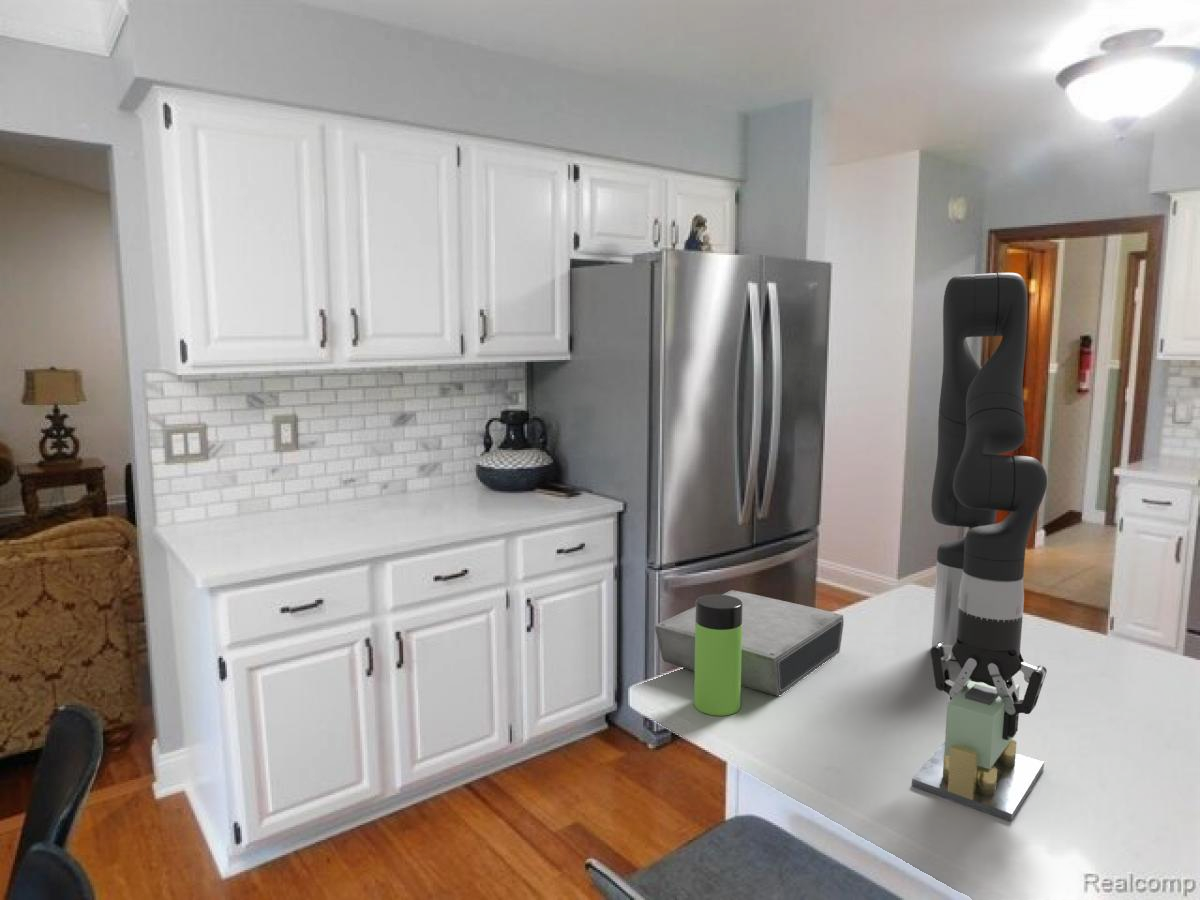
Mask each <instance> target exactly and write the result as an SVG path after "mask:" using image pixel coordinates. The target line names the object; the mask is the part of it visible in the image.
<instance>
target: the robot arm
mask: <svg viewBox="0 0 1200 900" xmlns="http://www.w3.org/2000/svg"><path fill="white" fill-rule="evenodd" d="M1025 281H1026V280H1024V278H1023V276H1021V275H1020V274H1019V273H1017V272H1016V273H1015V272H994V273H993V272H991V273H972V274H971V273H969V274H961V275H955V276H953V277H952V278H950V279H949V280H948V282H947V284H946V287H945V290H944V294H943V303H942V307H943V308H942V330H943V331H942V332H943V333H942V337H943V340H942V342H943V344H942V345H943V347H942V348H943V352H942V353H943V356H942V357H943V363H942V364H943V365H942V376H941V387H940V388H941V389H940V394H939V395H940V396H939V404H938V405H939V406H938V407H939V409H938V420H937V421H938V423H937V425H938V426H937V454H936V455H937V457H936V464H935V465H936V466H935V471H934V479H933V486H932V492H931V493H932V494H931V513H932V516H933V517H932V518H933V519H934V520H935V522H937V523H938V524H941V525H943V526H951V527H960V528H962V527H963V528H970V529H969V530H967V532H966V533H965V536H964V537H962V538H958V539H954V540H950V541H945V542H942V543H941V544H940V545H939V546H937V547H938V548H937V552H936V553H937V554H936V568H935V569H936V571H935V585H934V586H935V588H934V603H933V605H934V606H933V619H932V620H933V622H932V623H933V624H932V634H931V635H932V637H931V638H932V639H931V648H930V655H931V656H930V657H931V662H932V669H933V670H932V671H933V676H934V682H935V683H934V684H935V687H936V690H938V691H940V692H941V691H943V692H944V693H946V694H948V695H949V699H950V700H951V699H952V698H953V697H954V696H955V695H956V694H957V693H958V692H959V691H962V690H963V689H964V687H965V686H967V685H968V683H969V682H970V681H973V682H983V683H985V684H987V685H989V686H993V687H996V690H997V693H998V695H999V697H1000V698H1001V699H1002V702H1003V703H1005V705H1004V708H1005V711H1006V712H1005V713H1004V722H1003V736H1002V738H1003V739H1004V740H1009V739H1010V737H1013V736H1014V735H1015V734H1016V735H1017V732H1018V731H1019V730H1018V729H1019V718H1020V717H1019V715H1020V714H1025V715H1029V714H1030V713H1032V711H1033V710H1034V709H1035V707H1036V706H1037V702H1038V699H1039V697H1040V694H1041V691H1042V687H1043V685H1044V682H1045V678H1046V677H1047V671H1048V670H1047V668H1046V667H1045V666H1044V665H1038V666H1034V665H1032V664H1029V663H1027V662H1025V661H1024V659H1023V656H1022V654H1021V646H1022V645H1021V644H1022V642H1021V641H1022V630H1023V629H1022V628H1023V618H1024V617H1023V615H1024V602H1025V588H1024V574H1025V558H1026V548H1027V544H1028V543H1027V542H1028V538H1029V535H1030V532H1031V529H1032V526H1033V523H1034V521H1035V517H1036V515H1037V513H1038V512H1039V508H1040V506H1041V504H1042V501H1043V500H1044V496H1045V494H1046V491H1047V485H1048V477H1047V472H1046V469H1045V468H1044V467H1045V466H1044V465H1043V464H1042V463H1041V461H1039V460H1038V459H1037V458H1035V457H1032V456H1025V455H1008V453H1010V452H1013V451H1015V450H1017V449H1019V448H1020V447H1021V446H1022V445H1023V443H1024V442H1025V439H1026V434H1027V433H1026V431H1027V430H1026V429H1027V428H1026V418H1025V410H1024V409H1025V407H1024V405H1025V404H1024V395H1023V393H1024V392H1023V385H1024V384H1023V382H1024V381H1023V380H1024V378H1023V377H1024V368H1025V359H1026V358H1025V357H1026V345H1027V328H1028V327H1027V326H1028V309H1029V308H1028V302H1029V301H1028V290H1027V285H1026V282H1025ZM972 337H973V338H975V337H978V338H980V337H983V338H984V337H1001V341H1000V343H999V344H998V346H997V348H996V349H995V351H994V353H993V354H992V355H991V357H990V358H989V359H988V360H987V361H986V362H985V363H984V365H983V366H982V365H980V363H979V362H978V360H976V357H974V355H973V353H972V351H971V349H970V347H969V344H968V341H967V338H972ZM1006 454H1007V455H1006ZM997 511H1003V512H1004V511H1005V512H1009V514H1008V515H1007V516H1006V517H1005V518H1004V520H1002V521H1000V522H998V523H996V520H997V519H996V518H997ZM949 660H953V661H956V663H957V664H958V665H959V667H960V668H961V671H960V672H959V674H958V676H957V677H956V679H955V681H952V679H951V674H950V666H949ZM1018 672H1022V674H1023V678H1024V681H1025V682H1026V683H1027V687H1026V690H1025V693H1024V696H1023V699H1018V696H1017V693H1016V687H1015V684H1016V683H1015V681H1014V678H1013V677H1014V676H1015V675H1016V674H1018ZM950 700H949V701H950ZM1016 735H1015V736H1016ZM1015 736H1014V737H1015ZM1014 737H1013V738H1014Z"/></svg>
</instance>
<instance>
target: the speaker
mask: <svg viewBox="0 0 1200 900" xmlns="http://www.w3.org/2000/svg"><path fill="white" fill-rule="evenodd" d="M721 595H728V596H732V597H735V598H738V599H739V600H741V601H742V603H743V608H742V651H741V686H742V687H744V686H745V688H748V689H751V690H754V689H755V691H757V692H761V691H762V693H765V694H768V693H769V694H770V695H771V696H776V697H778V696H779V695H782V694H783V693H784V692H786V691H787V690H788V691H790V690H791V689H792V688H791V687H793V686H794V685H795V684H797V683H798V682H799V681H801V680H802V679H803V678H804V677H806V676H807V675H809V674H810V673H811V672H813V671H814V670H815V669H817V668H818V667H819V666H821V665H822V664H823V663H825V662H826V661H827V662H829V661H830V660H832V659H833V658H834V657H836V656H837V655H838V654H839V653H840V652H841V646H842V645H841V644H842V639H843V632H844V631H843V630H844V615H843V614H841V613H836V612H833V611H829V610H825V609H821V608H817V607H812V606H807V605H803V604H799V603H793V602H790V601H787V600H786V601H784V600H781V599H776V598H772V597H767V596H763V595H758V594H754V593H749V592H744V591H739V590H733V589H732V590H729V591H727V592H724V593H722V594H721ZM695 615H696V606H693V607H691V608H690V609H687V610H684V611H683V612H680V613H679V614H676V615H674V616H671V617H670V618H667V619H665V620H663V621H660V622H659V623H657V624H655V625H654V626H655V627H654V629H655V633H656V634H655V635H656V638H657V642H658V647H659V651H660V653H661V658H662V660H663V661H664V663H665V662H666V663H668V664H671V665H673V666H674V665H675V666H677V667H680V668H683V669H686V668H687V669H686V670H689V671H693V672H695ZM836 654H837V655H836ZM832 657H833V658H832ZM829 659H830V660H829ZM828 660H829V661H828ZM827 662H826V663H827ZM826 663H825V664H826ZM823 665H824V664H823ZM823 665H822V666H823ZM822 666H821V667H822ZM819 668H820V667H819ZM819 668H818V669H819ZM818 669H817V670H818ZM815 671H816V670H815ZM815 671H814V672H815ZM814 672H813V673H814ZM811 674H812V673H811ZM811 674H810V675H811ZM810 675H809V676H810ZM807 677H808V676H807ZM807 677H806V678H807ZM803 680H804V679H803ZM803 680H802V681H803ZM802 681H801V682H802ZM799 683H800V682H799ZM799 683H798V684H799ZM798 684H797V685H798ZM795 686H796V685H795ZM795 686H794V687H795ZM794 687H793V688H794ZM790 688H791V689H790ZM789 689H790V690H789ZM788 691H787V692H788ZM787 692H786V693H787ZM784 694H785V693H784ZM784 694H783V695H784ZM783 695H782V696H783ZM779 697H780V696H779Z"/></svg>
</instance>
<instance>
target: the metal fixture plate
mask: <svg viewBox="0 0 1200 900" xmlns="http://www.w3.org/2000/svg"><path fill="white" fill-rule="evenodd" d="M944 751H945V742H944V743H942V745H941V746H940V747H939V748H938V749H937V750H936V752H935V753H933V755H931V757H930V758H929V759H927V762H925V764H924V765H923V766H921V768H920V769H919V770H918V771H917V772H916V774H915V775H914V776H913V777H912V778H911V787H914V788H917V789H919V790H922V791H925V792H928V793H930V794H933V795H935V796H939V797H941V798H945V799H947V800H949V801H954V802H955V803H958V804H962V805H963V806H967V807H969V808H971V809H972V808H973V809H975V810H979V811H981V812H984V813H985V814H989V815H991V816H995V817H998V818H1001V819H1003V820H1006V821H1009V822H1012V821H1013V819H1014V818H1015V816H1016V815H1017V813H1018V811H1019V810H1020V808H1021V806H1022V805H1023V803H1024V801H1025V800H1026V799H1027V797H1028V795H1029V793H1030V792H1031V790H1032V788H1033V787H1034V785H1035V783H1036V782H1037V780H1039V779H1038V778H1039V777H1040V776H1041V773H1042V772H1043V771H1044V766H1045V761H1042V760H1038V759H1035V758H1032V757H1029V756H1026V755H1023V754H1020V753H1016V752H1017V741H1016V740H1014V739H1012V740H1011V741H1010V743H1009V744H1008V745H1007V747H1006V748H1005V749H1004V751H1003V752H1002V753H1001V755H1000V756H999V758H998V759H997V760H996V762H995V763H994V764H993V766H992V767H991V768H990V769H987V768H984V767H981V766H978V765H977V760H978V752H977V751H974V750H971V749H967V748H964V747H961V746H958V745H955V744H953V745H952V746H951V747H950V756H947V755H944Z"/></svg>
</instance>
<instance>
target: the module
mask: <svg viewBox="0 0 1200 900" xmlns="http://www.w3.org/2000/svg"><path fill="white" fill-rule="evenodd" d="M1015 687H1016V693H1017V696H1018V699H1019V697H1020V687H1021V686H1020V684H1017V683H1015ZM1019 700H1020V699H1019ZM1004 705H1005V703H1003V702H1002V699H1001V698H1000V697H999V695H998V693H997V690H996V687H993V686H989V685H987V684H985V683H983V682H973V681H970V682H969V683H968V685H967V686H965V687H964V689H963V690H962V691H959V692H958V693H957V694H956V695H955V696H954V697H953V698H952V699H951V700H949V701H948V702H947V706H946V722H945V734H944V735H945V739H944V743H945V751H944V755H947V756H950V747H951V746H952V745H953V744H955V745H958V746H961V747H964V748H967V749H971V750H974V751H977V752H978V760H977V765H978V766H981V767H984V768H987V769H990V768H991V767H992V766H993V764H994V763H995V762H996V760H997V759H998V758H999V756H1000V755H1001V753H1002V752H1003V751H1004V749H1005V748H1006V747H1007V745H1008V744H1009V743H1010V741H1011V740H1012V739H1013V738H1015V736H1016V735H1017V733H1016V734H1015V735H1014V736H1013V737H1010V739H1009V740H1004V739H1003V738H1002V736H1003V722H1004V713H1005V712H1006V711H1005V708H1004ZM1013 740H1014V739H1013Z"/></svg>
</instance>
